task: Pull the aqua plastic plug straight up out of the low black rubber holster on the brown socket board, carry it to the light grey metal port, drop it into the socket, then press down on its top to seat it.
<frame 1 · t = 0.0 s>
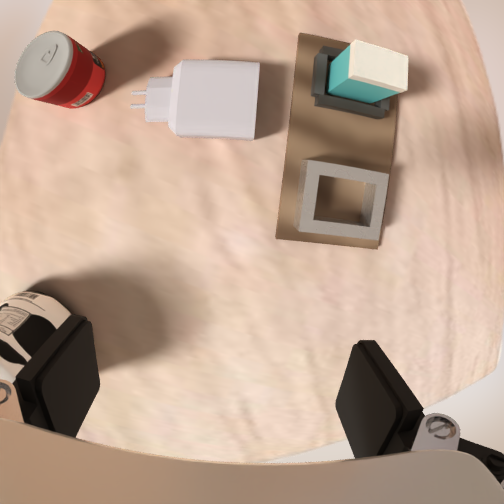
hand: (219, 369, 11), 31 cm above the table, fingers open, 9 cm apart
canned food: (82, 82, 35), on the table
plug: (349, 84, 36), point 1 cm above the table, touching brown socket board
charger: (194, 102, 37), on the table
milk container: (49, 332, 44), on the table
brown socket board: (341, 140, 39), on the table
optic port: (334, 197, 41), resting on brown socket board
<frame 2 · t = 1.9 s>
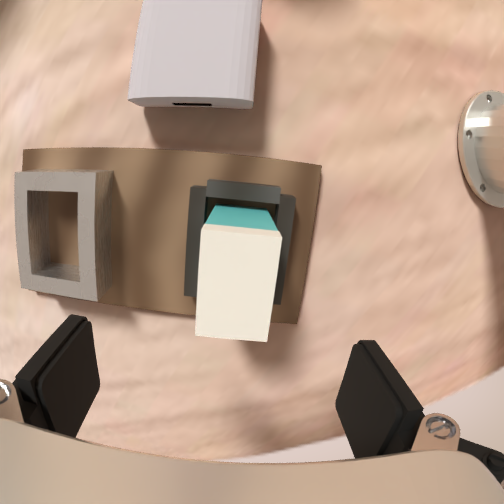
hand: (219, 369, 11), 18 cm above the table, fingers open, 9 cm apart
plug: (237, 242, 27), point 1 cm above the table, touching brown socket board
charger: (204, 29, 23), on the table
brown socket board: (151, 231, 27), on the table
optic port: (76, 224, 27), resting on brown socket board
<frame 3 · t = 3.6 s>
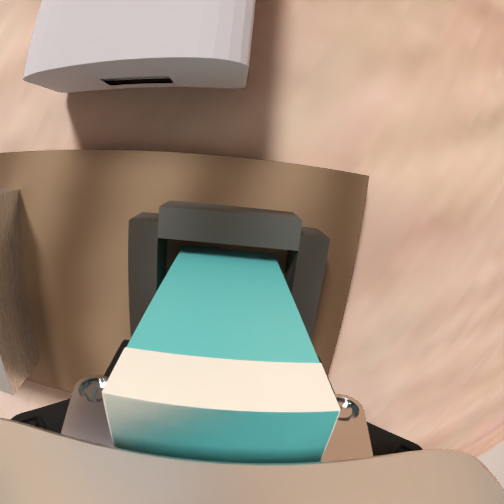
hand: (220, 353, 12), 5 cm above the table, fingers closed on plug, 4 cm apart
plug: (223, 310, 15), point 1 cm above the table, touching brown socket board, gripper
brown socket board: (83, 285, 16), on the table
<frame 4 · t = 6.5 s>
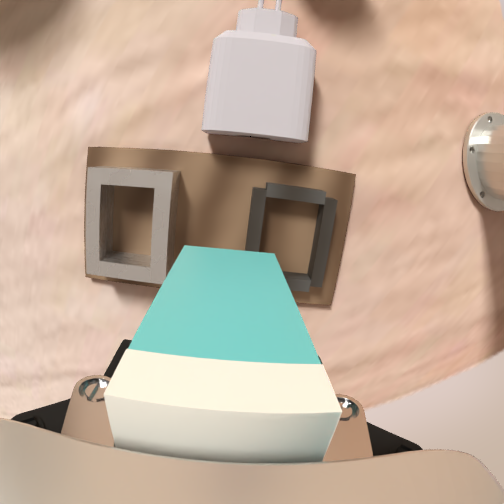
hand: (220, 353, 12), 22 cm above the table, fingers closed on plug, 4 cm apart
plug: (223, 310, 15), point 18 cm above the table, touching gripper
charger: (261, 67, 29), on the table
brown socket board: (211, 224, 32), on the table
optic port: (139, 217, 32), resting on brown socket board
when the fingers open (6 cm above the table, at t = 9.4 s): plug drops 1 cm, resting on brown socket board.
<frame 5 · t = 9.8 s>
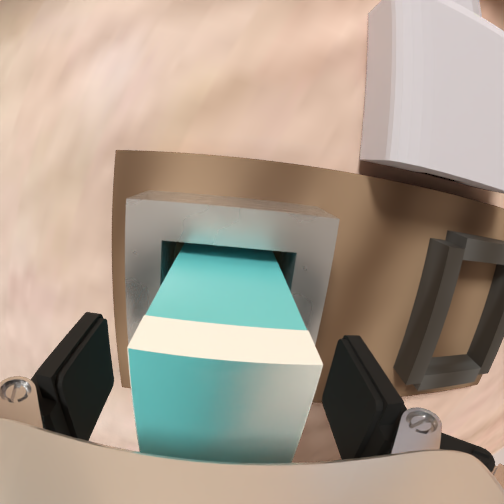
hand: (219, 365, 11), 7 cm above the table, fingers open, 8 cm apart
plug: (223, 297, 17), point 1 cm above the table, touching brown socket board
charger: (428, 59, 15), on the table
brown socket board: (354, 298, 18), on the table
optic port: (224, 289, 18), resting on brown socket board
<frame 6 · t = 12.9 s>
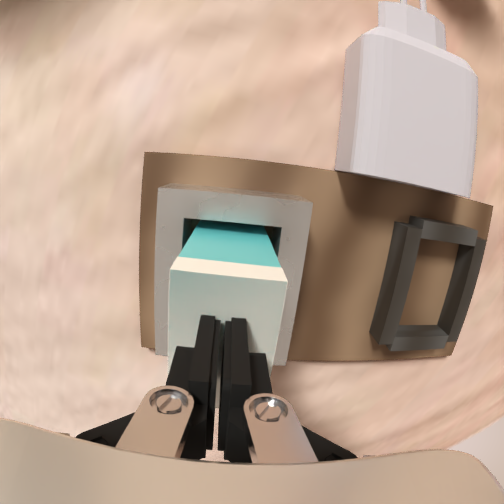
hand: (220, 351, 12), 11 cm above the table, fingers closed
plug: (227, 267, 21), point 1 cm above the table, touching brown socket board, gripper
charger: (397, 84, 20), on the table
brown socket board: (333, 271, 23), on the table
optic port: (228, 262, 22), resting on brown socket board
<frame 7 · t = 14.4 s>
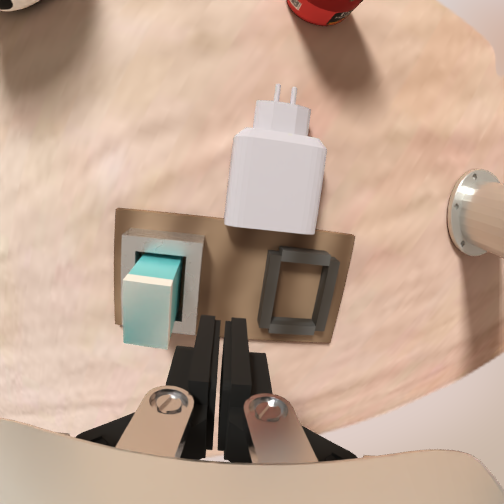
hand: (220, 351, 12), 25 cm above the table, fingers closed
canned food: (315, 2, 29), on the table
plug: (163, 276, 35), point 1 cm above the table, touching brown socket board
charger: (273, 155, 34), on the table
brown socket board: (230, 280, 37), on the table
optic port: (165, 273, 36), resting on brown socket board
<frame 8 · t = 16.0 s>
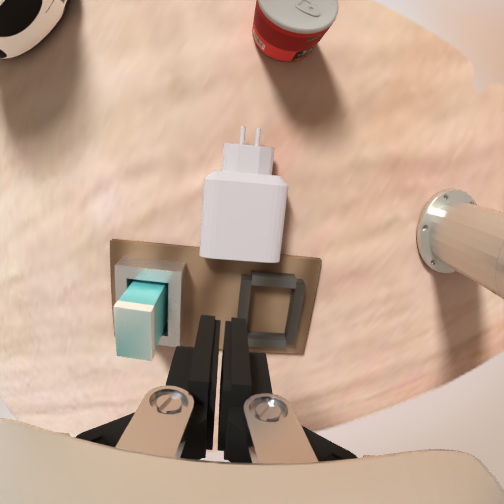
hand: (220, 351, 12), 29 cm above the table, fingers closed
canned food: (283, 37, 34), on the table
plug: (153, 297, 41), point 1 cm above the table, touching brown socket board
charger: (244, 190, 39), on the table, touching brown socket board
milk container: (33, 13, 29), on the table
brown socket board: (210, 299, 42), on the table
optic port: (155, 293, 42), resting on brown socket board
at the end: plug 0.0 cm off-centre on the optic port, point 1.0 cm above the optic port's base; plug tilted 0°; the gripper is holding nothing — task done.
